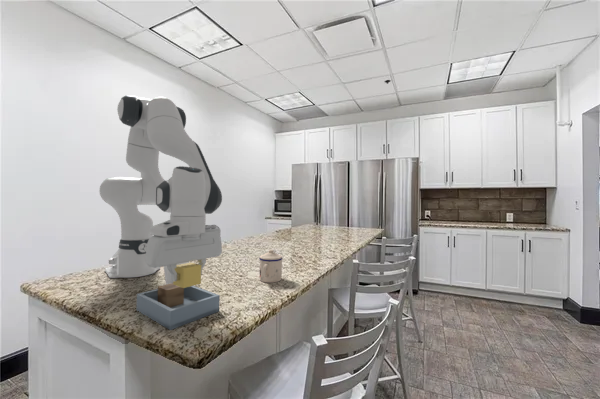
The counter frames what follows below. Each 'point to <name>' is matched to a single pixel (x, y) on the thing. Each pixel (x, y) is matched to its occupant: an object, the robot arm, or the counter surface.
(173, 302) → the walnut block
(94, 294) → the counter surface
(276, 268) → the teacup with lid
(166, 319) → the tray
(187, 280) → the mustard block
